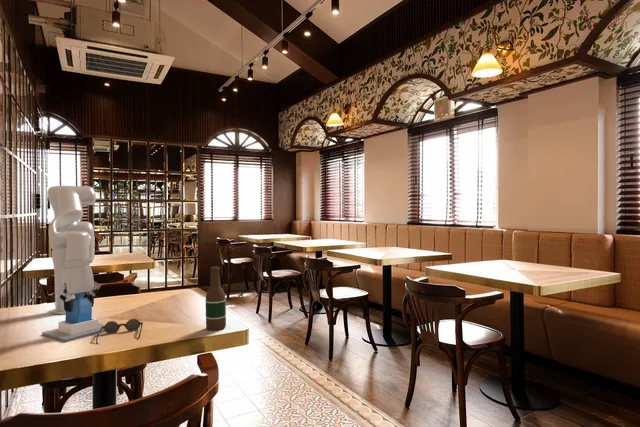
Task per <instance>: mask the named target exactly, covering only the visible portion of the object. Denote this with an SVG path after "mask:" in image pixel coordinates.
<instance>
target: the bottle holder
mask: <svg viewBox="0 0 640 427" xmlns="http://www.w3.org/2000/svg"><path fill="white" fill-rule="evenodd" d="M57 323H58V324H57V325H58V328H55V329H50V330H47V331H42V332H41V334H42V336H45V337H46V338H51V339H54V340H57V341H60V342H63V343H68V342H71V341H75V340H80V339H83V338H86V337H90V336H95V335H97V334H98V332H99V330H100V329H101V327H102V326H105V325H106V324H104V323H100V322H99V319H98V318H95V317H92V320H89V321H85V322H81V323H69V322H65V320H61V321H58V322H57ZM102 333H107V332H106V331H105V330H104V329H102V330H101V332H100V334H102Z"/></svg>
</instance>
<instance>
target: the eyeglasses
mask: <svg viewBox="0 0 640 427" xmlns="http://www.w3.org/2000/svg"><path fill="white" fill-rule="evenodd" d="M143 324H144V321H140V320H138V319H137V318H130V319H129V320H128V321H126V323H120V324H119V323H118V322H117V321H113V320H112V321H108V322H106V324H105V326H102V327H101V329H100V330H99V332H98V334H96V339H95V344H96V345H100V343H98V339H99V336H100V334H101V333H100V332H101V330H102V329H104V330H105V331H106V332H105V333H106V334H111V333H112V334H113V333H118V331H119V330H120V327H121V326H124V328H125V329H126V331H137V330H139V329H140V330H139V334H138V338H137V339H136V341H138V340H140V338H141V337H140V336H141V333H142V329H143Z"/></svg>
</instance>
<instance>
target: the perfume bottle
mask: <svg viewBox="0 0 640 427" xmlns="http://www.w3.org/2000/svg"><path fill="white" fill-rule="evenodd" d="M85 293H86V292H84V293H78V294H74V296H75V298H74V299H71V300H70V302H71V311H70V312H67V311H66V314H65V319H64V321H65V322H69V323H81V322H85V321H89V320H92V318H93V317H92V316H93V307H92V303H91V302H90V300H89V299H88V298H87V297H84V296H86V294H85Z"/></svg>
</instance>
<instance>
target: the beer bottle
mask: <svg viewBox="0 0 640 427" xmlns="http://www.w3.org/2000/svg"><path fill="white" fill-rule="evenodd" d="M209 270H210V283H209V284H210V285H209V289H208V290H207V292H206V294H205V326H206V330H208V331H211V332H215V331H221V330H224V329H225V328H226V327H227V310H226V309H227V307H226V303H227V302H226V293H225V291H224V289H223V288H222V285H221V278H220V267H219V266H211V267H210V268H209Z"/></svg>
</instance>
